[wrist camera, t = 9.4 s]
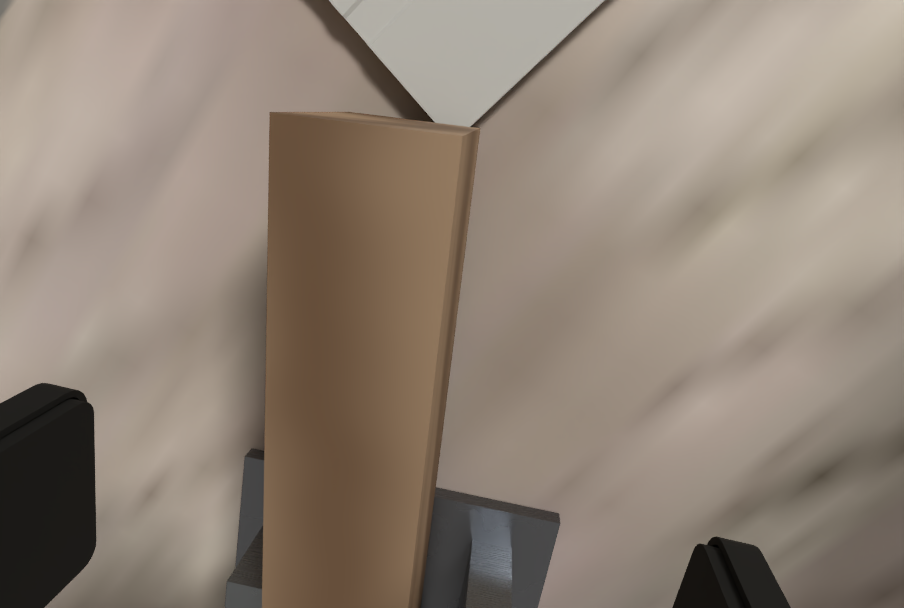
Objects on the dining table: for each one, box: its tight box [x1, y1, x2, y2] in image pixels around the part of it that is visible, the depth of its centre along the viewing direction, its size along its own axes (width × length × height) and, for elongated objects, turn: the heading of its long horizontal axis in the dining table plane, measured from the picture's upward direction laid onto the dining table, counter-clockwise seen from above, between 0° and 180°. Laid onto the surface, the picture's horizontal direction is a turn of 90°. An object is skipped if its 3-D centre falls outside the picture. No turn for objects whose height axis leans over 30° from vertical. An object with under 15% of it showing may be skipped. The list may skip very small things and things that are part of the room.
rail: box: [262, 112, 480, 608], centre depth 18 cm, size 4×20×6 cm, turn 173°
